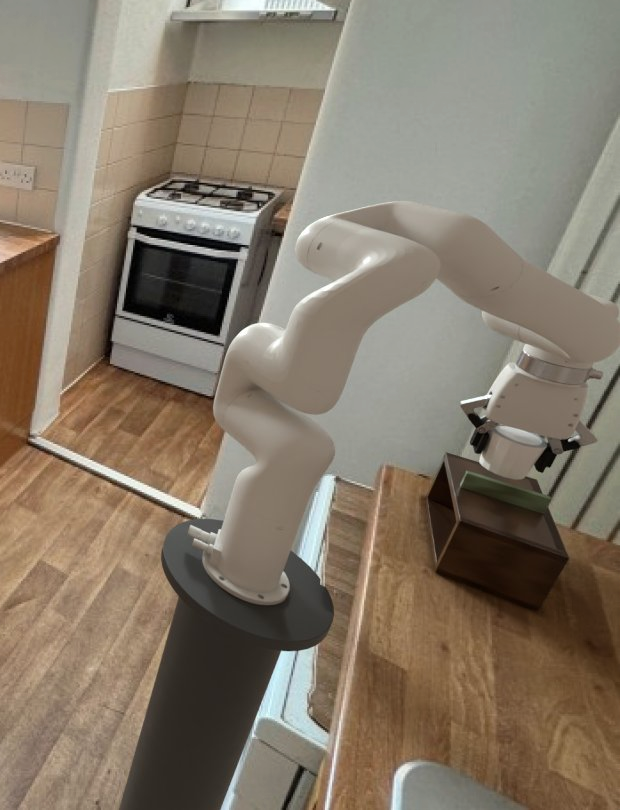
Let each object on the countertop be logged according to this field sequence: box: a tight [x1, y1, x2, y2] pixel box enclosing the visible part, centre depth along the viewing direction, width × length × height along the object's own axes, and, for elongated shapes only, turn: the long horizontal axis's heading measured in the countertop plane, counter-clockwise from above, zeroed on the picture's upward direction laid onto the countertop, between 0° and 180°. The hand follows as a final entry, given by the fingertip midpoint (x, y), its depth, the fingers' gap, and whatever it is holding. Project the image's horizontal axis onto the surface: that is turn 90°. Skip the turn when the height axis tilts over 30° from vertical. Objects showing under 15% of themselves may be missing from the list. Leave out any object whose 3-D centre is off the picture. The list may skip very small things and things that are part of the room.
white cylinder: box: [478, 424, 548, 479], centre depth 101 cm, size 7×7×7 cm
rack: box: [424, 451, 570, 613], centre depth 101 cm, size 12×22×14 cm, turn 142°
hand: (506, 458), depth 102 cm, fingers closed on white cylinder, 6 cm apart
